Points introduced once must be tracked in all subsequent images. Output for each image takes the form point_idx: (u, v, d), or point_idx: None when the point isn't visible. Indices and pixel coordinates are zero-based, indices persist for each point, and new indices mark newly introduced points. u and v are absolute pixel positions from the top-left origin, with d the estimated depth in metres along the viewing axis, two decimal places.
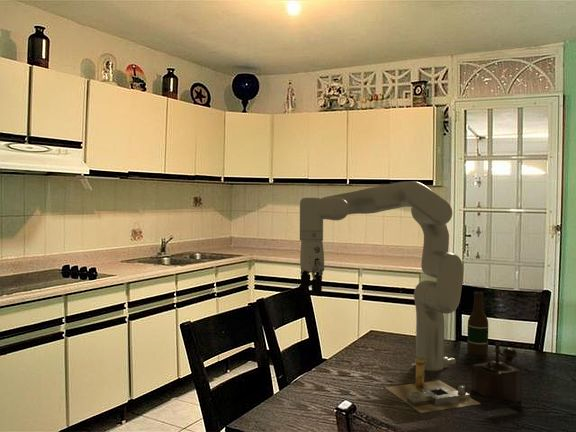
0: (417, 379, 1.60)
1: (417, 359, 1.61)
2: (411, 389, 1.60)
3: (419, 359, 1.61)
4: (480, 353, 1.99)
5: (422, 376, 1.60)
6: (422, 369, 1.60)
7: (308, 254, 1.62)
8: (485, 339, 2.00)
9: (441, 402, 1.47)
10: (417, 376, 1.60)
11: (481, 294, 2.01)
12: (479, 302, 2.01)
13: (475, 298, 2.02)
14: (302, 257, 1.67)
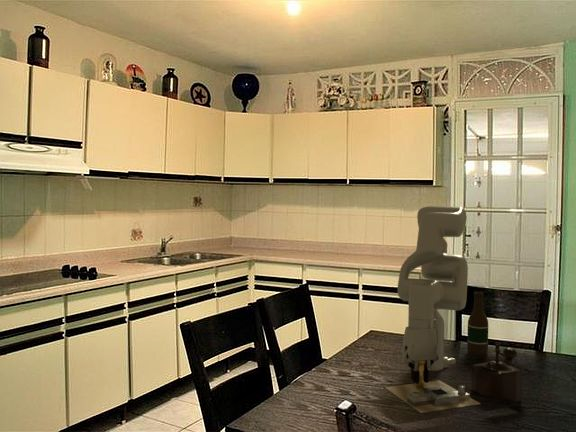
0: None
1: None
2: (411, 389, 1.60)
3: None
4: (480, 353, 1.99)
5: (422, 376, 1.60)
6: (422, 369, 1.60)
7: (434, 342, 1.60)
8: (485, 339, 2.00)
9: (441, 402, 1.47)
10: None
11: (481, 294, 2.01)
12: (479, 302, 2.01)
13: (475, 298, 2.02)
14: (420, 348, 1.58)
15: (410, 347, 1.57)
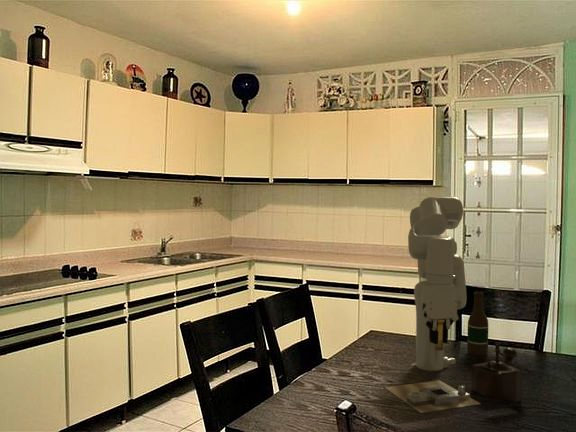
0: None
1: None
2: (411, 389, 1.60)
3: None
4: (480, 353, 1.99)
5: (441, 336, 1.50)
6: (441, 328, 1.50)
7: (454, 299, 1.50)
8: (485, 339, 2.00)
9: (441, 402, 1.47)
10: None
11: (481, 294, 2.01)
12: (480, 302, 2.01)
13: (475, 298, 2.02)
14: (439, 305, 1.48)
15: (428, 304, 1.48)
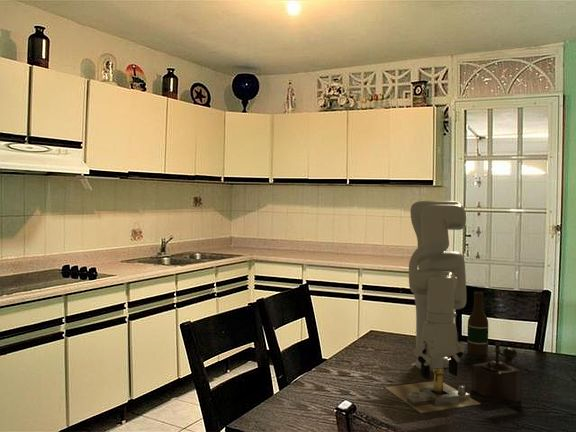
0: (435, 390, 1.51)
1: (435, 369, 1.51)
2: (411, 389, 1.60)
3: (438, 369, 1.52)
4: (480, 353, 1.99)
5: (441, 387, 1.50)
6: (441, 380, 1.50)
7: (455, 337, 1.50)
8: (485, 339, 2.00)
9: (441, 402, 1.47)
10: (435, 387, 1.51)
11: (481, 294, 2.01)
12: (479, 302, 2.01)
13: (475, 298, 2.02)
14: (440, 343, 1.48)
15: (429, 343, 1.48)
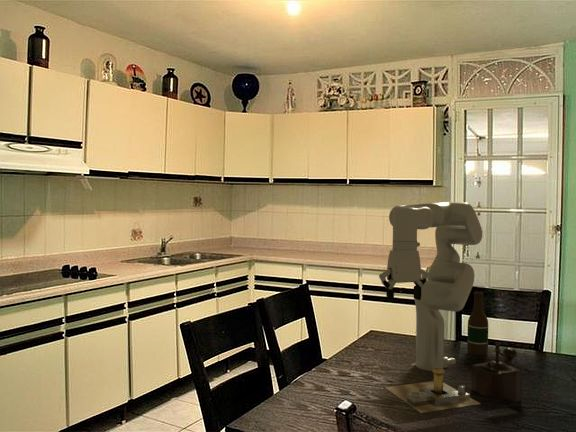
0: (435, 391, 1.51)
1: (435, 369, 1.51)
2: (411, 389, 1.60)
3: (437, 369, 1.51)
4: (480, 353, 1.99)
5: (441, 387, 1.50)
6: (441, 380, 1.50)
7: (418, 264, 1.63)
8: (485, 339, 2.00)
9: (441, 402, 1.47)
10: (435, 387, 1.51)
11: (481, 294, 2.01)
12: (479, 302, 2.01)
13: (475, 298, 2.02)
14: (404, 269, 1.61)
15: (394, 268, 1.60)
